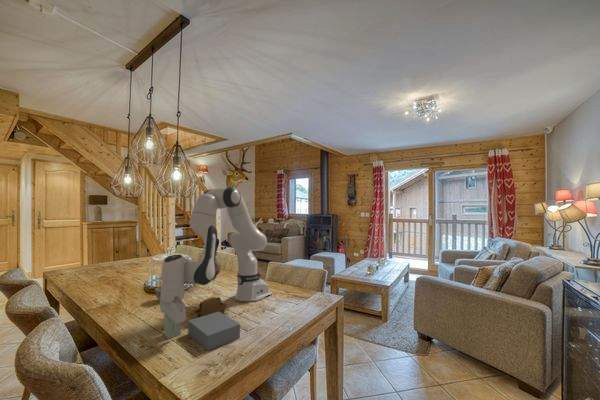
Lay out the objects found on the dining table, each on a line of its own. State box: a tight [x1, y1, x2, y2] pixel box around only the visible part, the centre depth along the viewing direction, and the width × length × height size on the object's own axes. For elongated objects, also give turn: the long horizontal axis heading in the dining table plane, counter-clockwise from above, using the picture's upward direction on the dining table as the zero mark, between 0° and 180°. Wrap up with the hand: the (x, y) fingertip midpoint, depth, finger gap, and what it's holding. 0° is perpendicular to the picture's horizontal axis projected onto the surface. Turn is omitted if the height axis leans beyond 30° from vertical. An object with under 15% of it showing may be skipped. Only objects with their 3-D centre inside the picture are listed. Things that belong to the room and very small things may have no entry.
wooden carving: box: [193, 296, 228, 318], centre depth 128 cm, size 16×5×10 cm, turn 141°
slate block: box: [187, 312, 241, 352], centre depth 111 cm, size 14×18×6 cm
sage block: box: [163, 315, 182, 340], centre depth 111 cm, size 5×5×8 cm
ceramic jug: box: [202, 237, 222, 280], centre depth 196 cm, size 17×15×30 cm
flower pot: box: [154, 285, 162, 302], centre depth 150 cm, size 10×10×7 cm
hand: (172, 327), depth 111 cm, fingers open, 8 cm apart
